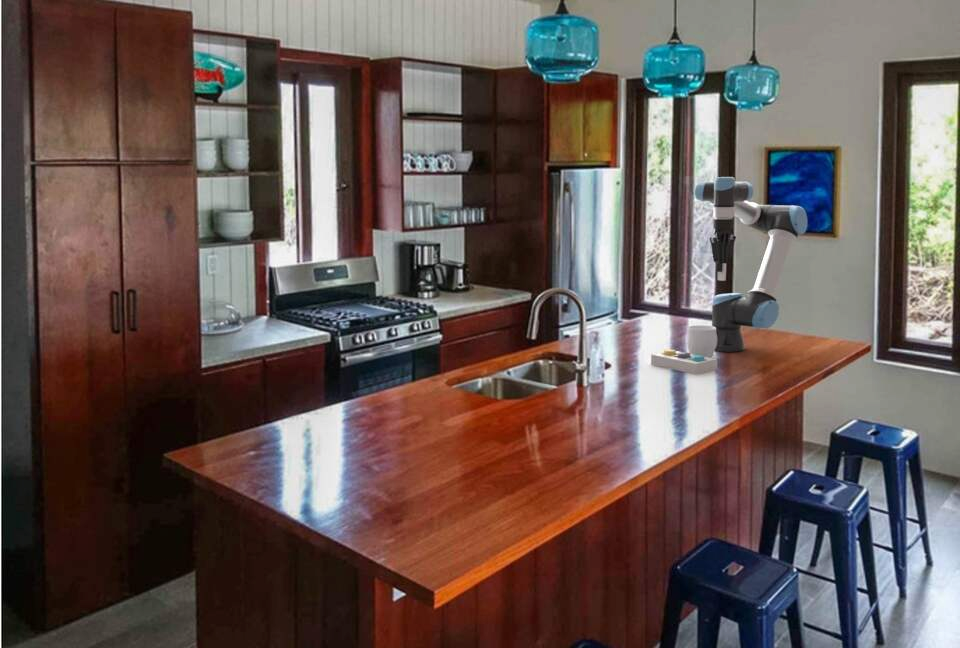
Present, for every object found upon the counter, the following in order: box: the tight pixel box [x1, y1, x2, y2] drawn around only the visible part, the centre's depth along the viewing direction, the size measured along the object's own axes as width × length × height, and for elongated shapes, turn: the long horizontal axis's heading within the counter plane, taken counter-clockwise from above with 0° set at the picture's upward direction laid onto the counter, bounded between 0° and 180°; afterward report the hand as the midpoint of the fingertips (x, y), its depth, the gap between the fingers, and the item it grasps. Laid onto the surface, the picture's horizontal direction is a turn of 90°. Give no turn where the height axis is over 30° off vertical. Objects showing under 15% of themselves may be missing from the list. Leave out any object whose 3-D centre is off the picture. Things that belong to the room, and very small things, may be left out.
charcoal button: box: [677, 351, 690, 359], centre depth 340 cm, size 5×5×4 cm
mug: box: [686, 324, 717, 358], centre depth 352 cm, size 15×11×13 cm
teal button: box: [691, 355, 705, 362], centre depth 334 cm, size 5×5×4 cm
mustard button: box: [662, 349, 677, 356], centre depth 346 cm, size 5×5×4 cm
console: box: [650, 350, 718, 375], centre depth 340 cm, size 12×22×4 cm, turn 36°
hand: (721, 280), depth 341 cm, fingers closed
